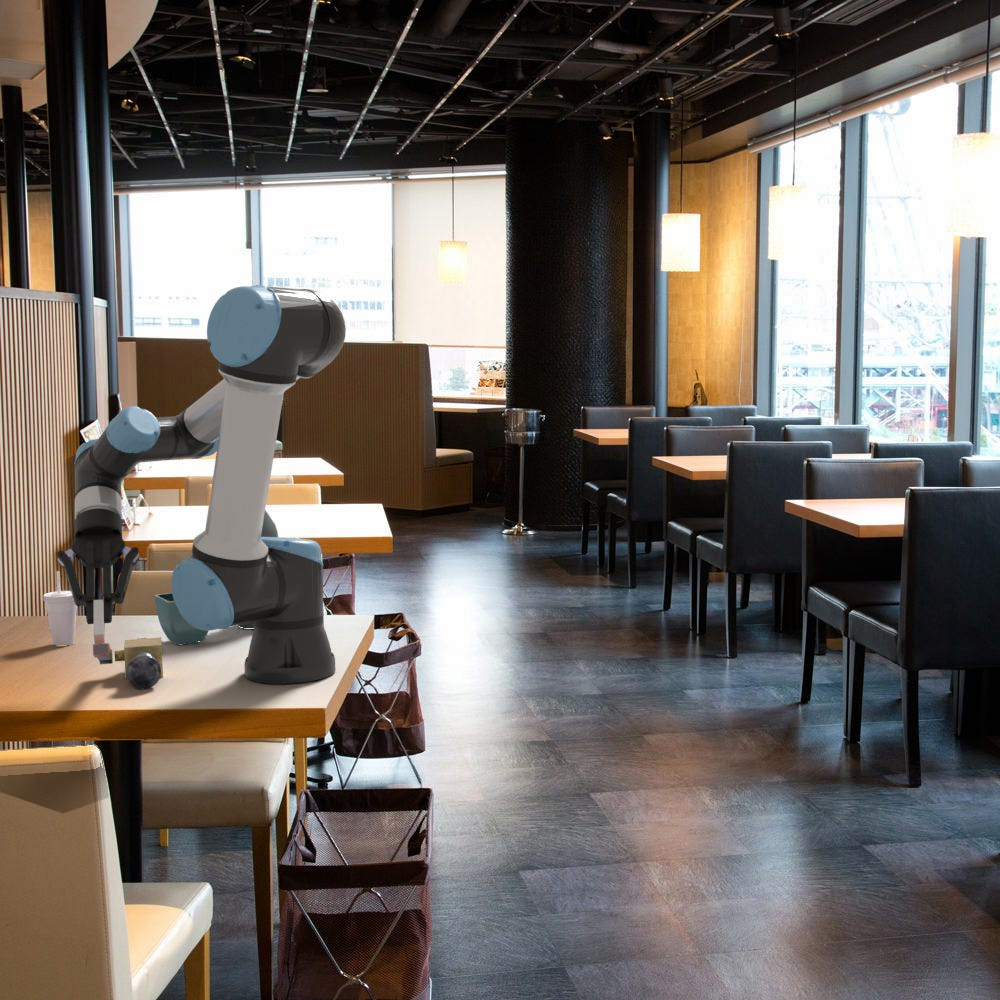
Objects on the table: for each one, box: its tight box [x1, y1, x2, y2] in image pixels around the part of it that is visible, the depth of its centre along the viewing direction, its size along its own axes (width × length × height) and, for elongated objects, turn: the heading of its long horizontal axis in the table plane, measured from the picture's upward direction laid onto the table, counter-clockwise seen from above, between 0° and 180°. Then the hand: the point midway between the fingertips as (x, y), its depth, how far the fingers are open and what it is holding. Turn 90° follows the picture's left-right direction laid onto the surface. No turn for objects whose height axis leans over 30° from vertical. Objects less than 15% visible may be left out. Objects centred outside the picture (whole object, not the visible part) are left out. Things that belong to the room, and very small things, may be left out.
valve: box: [114, 637, 164, 690], centre depth 200 cm, size 14×8×6 cm, turn 16°
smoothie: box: [42, 570, 78, 646], centre depth 225 cm, size 6×6×14 cm
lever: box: [92, 642, 114, 665], centre depth 193 cm, size 2×2×19 cm
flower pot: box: [154, 592, 209, 645], centre depth 227 cm, size 9×9×9 cm
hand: (99, 639), depth 186 cm, fingers closed
